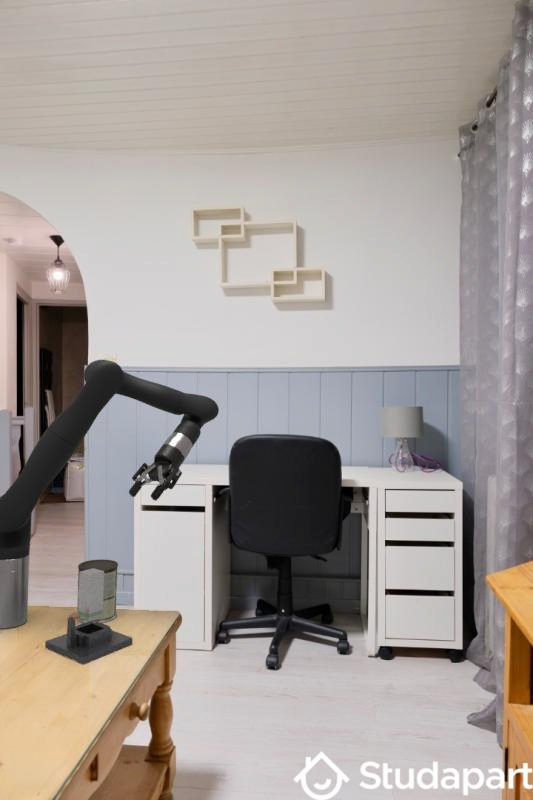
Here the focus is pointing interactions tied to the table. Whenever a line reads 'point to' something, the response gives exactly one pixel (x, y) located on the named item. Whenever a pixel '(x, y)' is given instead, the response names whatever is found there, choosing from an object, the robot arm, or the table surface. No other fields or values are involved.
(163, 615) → the table surface
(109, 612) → the coffee can
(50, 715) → the table surface
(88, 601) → the steel column
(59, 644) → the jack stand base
